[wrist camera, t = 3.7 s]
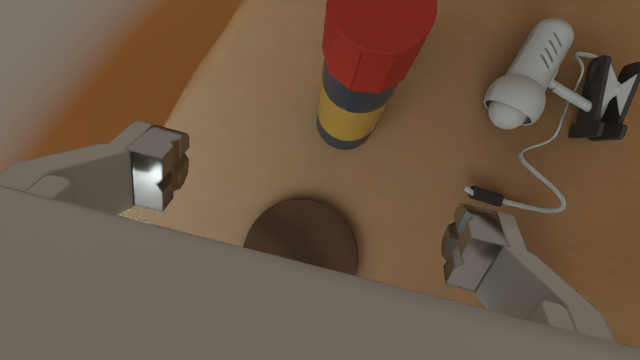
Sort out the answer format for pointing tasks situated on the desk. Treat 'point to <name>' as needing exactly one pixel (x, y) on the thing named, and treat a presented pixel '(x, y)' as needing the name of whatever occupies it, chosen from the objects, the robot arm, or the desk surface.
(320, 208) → the coaster
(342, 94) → the spray can
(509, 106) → the clip-on lamp
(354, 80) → the cap
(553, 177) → the desk surface
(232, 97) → the desk surface
